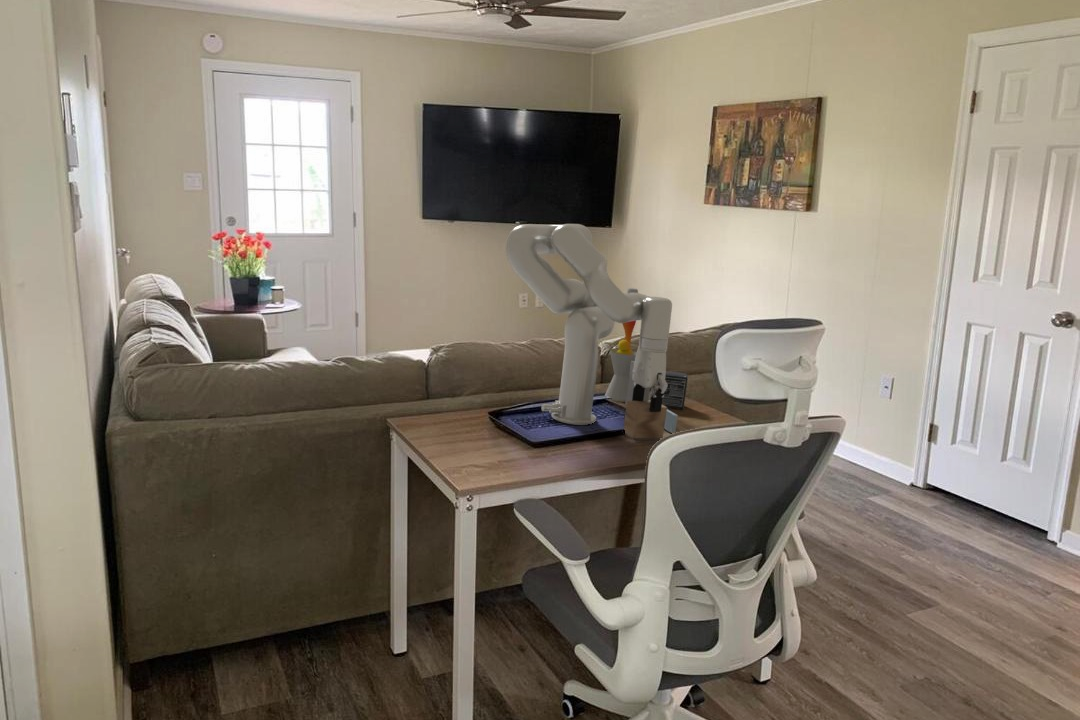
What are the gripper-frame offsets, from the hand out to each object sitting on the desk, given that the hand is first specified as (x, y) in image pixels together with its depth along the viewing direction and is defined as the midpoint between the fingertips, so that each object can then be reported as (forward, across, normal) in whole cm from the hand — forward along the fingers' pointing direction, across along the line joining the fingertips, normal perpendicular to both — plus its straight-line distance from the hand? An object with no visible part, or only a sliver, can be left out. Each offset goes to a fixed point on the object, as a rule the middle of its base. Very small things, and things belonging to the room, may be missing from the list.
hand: (646, 406), depth 217 cm
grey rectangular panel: (+8, -24, +10) cm, 27 cm away
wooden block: (+8, -1, 0) cm, 8 cm away
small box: (+8, -30, +24) cm, 39 cm away
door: (+8, -9, +11) cm, 16 cm away
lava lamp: (+8, -38, +11) cm, 40 cm away
